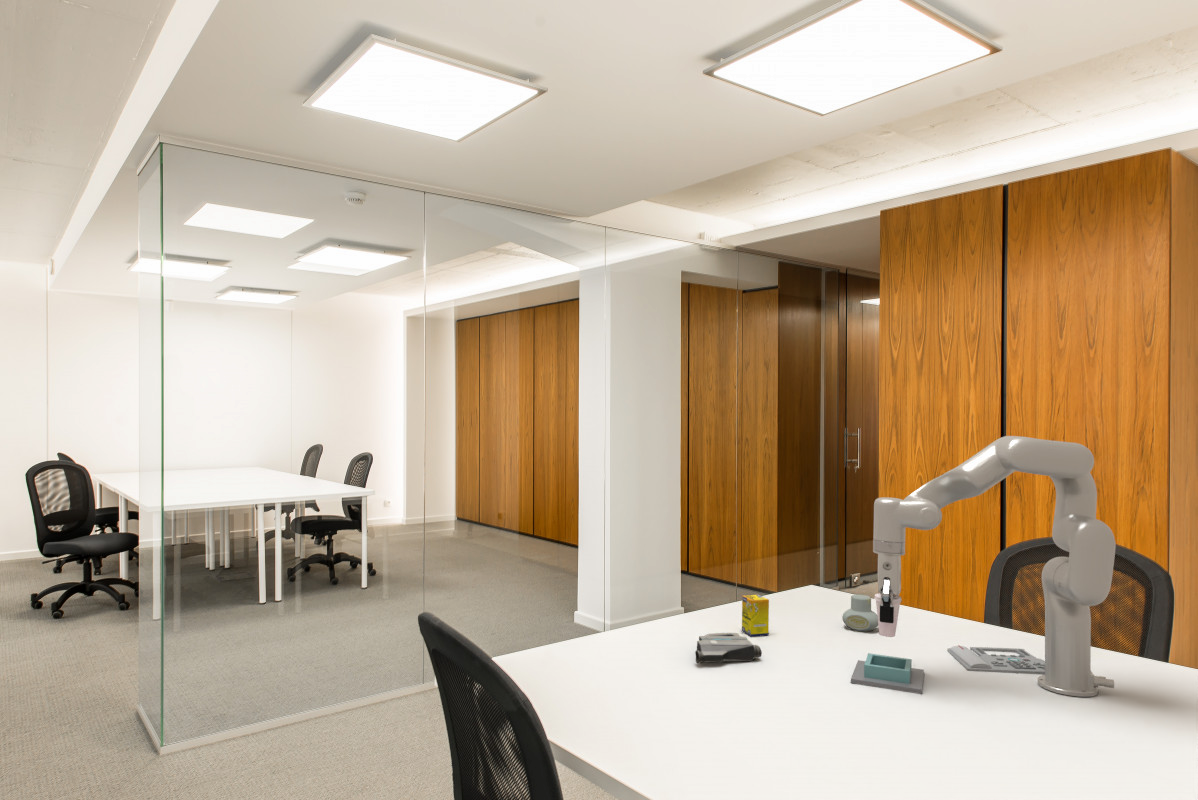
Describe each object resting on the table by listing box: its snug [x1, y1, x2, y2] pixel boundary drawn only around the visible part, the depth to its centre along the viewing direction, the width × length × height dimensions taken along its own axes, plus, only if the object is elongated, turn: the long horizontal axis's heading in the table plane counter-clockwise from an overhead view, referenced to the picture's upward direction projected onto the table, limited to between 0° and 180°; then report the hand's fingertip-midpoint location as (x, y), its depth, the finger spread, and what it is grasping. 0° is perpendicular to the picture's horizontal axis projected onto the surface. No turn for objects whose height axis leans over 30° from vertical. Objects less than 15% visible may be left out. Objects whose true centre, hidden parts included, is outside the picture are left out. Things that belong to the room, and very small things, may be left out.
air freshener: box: [841, 594, 879, 633], centre depth 234 cm, size 11×8×10 cm
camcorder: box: [694, 632, 762, 665], centre depth 205 cm, size 16×20×5 cm
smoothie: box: [874, 592, 902, 638], centre depth 190 cm, size 6×6×14 cm
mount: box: [850, 653, 925, 695], centre depth 190 cm, size 16×16×4 cm
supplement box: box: [741, 594, 770, 638], centre depth 227 cm, size 6×6×11 cm
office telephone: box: [947, 644, 1045, 675], centre depth 205 cm, size 23×3×20 cm
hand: (887, 618), depth 190 cm, fingers closed on smoothie, 6 cm apart
